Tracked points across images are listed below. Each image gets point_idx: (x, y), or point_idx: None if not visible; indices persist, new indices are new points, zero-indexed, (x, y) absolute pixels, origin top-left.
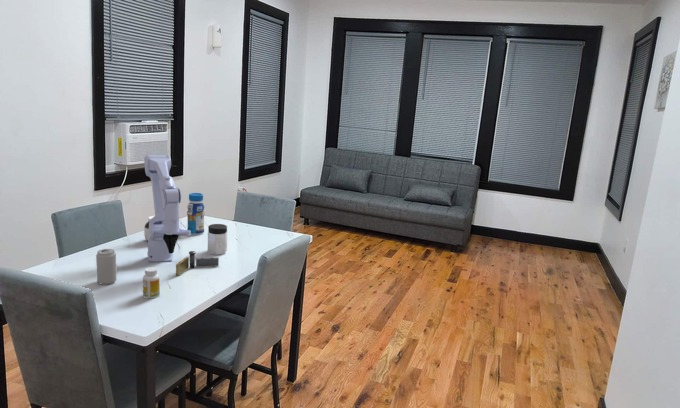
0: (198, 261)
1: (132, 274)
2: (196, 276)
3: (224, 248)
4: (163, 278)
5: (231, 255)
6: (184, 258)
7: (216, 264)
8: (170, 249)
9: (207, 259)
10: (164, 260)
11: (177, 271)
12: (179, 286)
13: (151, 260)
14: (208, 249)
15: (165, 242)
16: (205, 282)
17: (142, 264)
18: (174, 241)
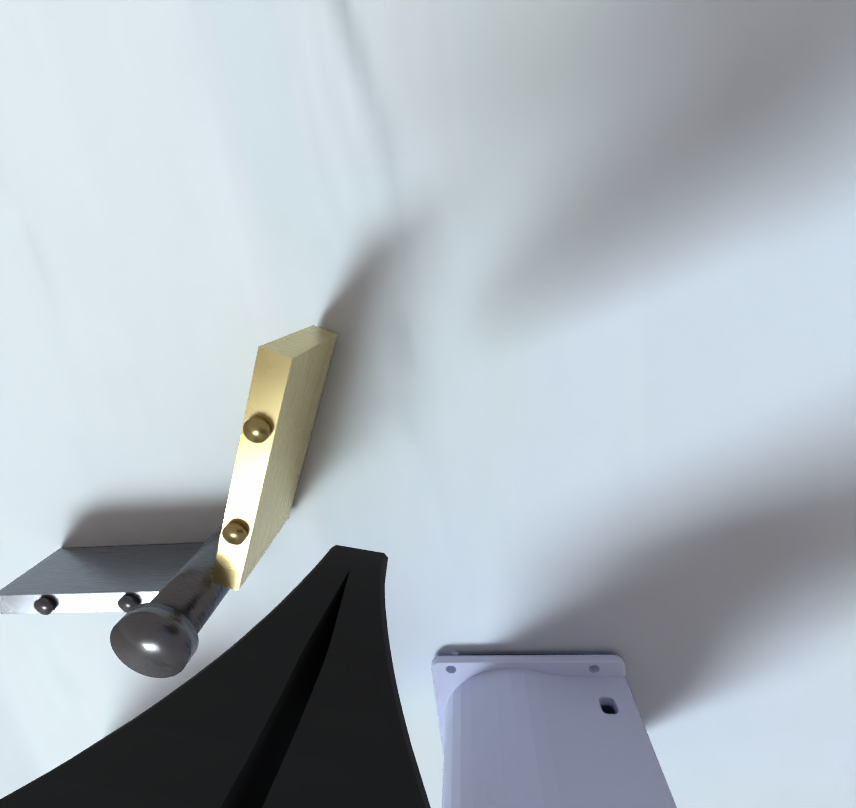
0: (175, 574)
1: (760, 385)
2: (154, 320)
3: None
4: (448, 269)
5: (48, 719)
6: (237, 539)
7: (62, 556)
8: (343, 600)
9: (88, 589)
10: (490, 659)
11: (307, 334)
12: (240, 13)
13: (596, 663)
14: None
15: (409, 759)
16: (20, 150)
17: (665, 608)
18: (87, 756)
